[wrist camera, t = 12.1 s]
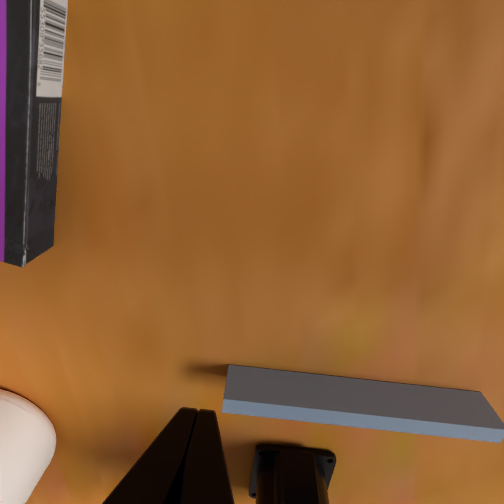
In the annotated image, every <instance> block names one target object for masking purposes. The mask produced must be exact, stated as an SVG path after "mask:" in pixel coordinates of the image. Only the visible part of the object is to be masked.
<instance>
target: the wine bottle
mask: <svg viewBox="0 0 504 504" xmlns="http://www.w3.org/2000/svg"><path fill="white" fill-rule="evenodd" d="M55 448H56V433H55V430H54V427H53V425H52V423H51V421H50V420H49V418H48V417H47V416H46V415H45V413H44V412H43V411H42V410H41V409H39V408H38V407H37V406H36V405H35V404H33V403H32V402H30V401H29V400H27V399H25V398H23V397H21V396H19V395H17V394H14V393H12V392H9V391H5V390H2V389H0V504H25V503H26V501H27V500H28V498H29V496H30V495H31V493H32V492H33V490H34V488H35V487H36V485H37V483H38V482H39V480H40V478H41V477H42V475H43V473H44V472H45V470H46V468H47V467H48V465H49V463H50V462H51V460H52V457H53V454H54V452H55Z"/></svg>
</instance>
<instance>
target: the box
mask: <svg viewBox="0 0 504 504" xmlns="http://www.w3.org/2000/svg"><path fill="white" fill-rule="evenodd" d="M67 5H68V0H0V261H2V262H5V263H9V264H12V265H16V266H19V267H24V266H25V265H26V264H27V263H29V262H30V261H31V260H33V259H34V258H36V257H37V256H39V255H40V254H42V253H44V252H45V251H47V250H48V249H49V248H51V247H52V246H53V242H54V221H55V203H56V185H57V168H58V152H59V134H60V117H61V98H62V83H63V67H64V52H65V37H66V21H67Z"/></svg>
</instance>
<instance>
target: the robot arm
mask: <svg viewBox="0 0 504 504" xmlns="http://www.w3.org/2000/svg"><path fill="white" fill-rule="evenodd" d="M335 464H336V456H335V454H334V453H332V452H326V451H317V450H308V449H299V448H289V447H280V446H271V445H257V446H256V448H255V454H254V460H253V467H252V473H251V480H250V486H249V496H250V497H252V498H256V504H329V499H328V492H327V490H328V486H329V483H330V480H331V477H332V474H333V470H334V467H335ZM102 504H234V499H233V494H232V489H231V484H230V480H229V475H228V470H227V465H226V460H225V455H224V451H223V446H222V441H221V436H220V431H219V426H218V421H217V417H216V413H215V411H214V410H206V409H200V410H199V411H198V410H197V409H195V408H187V407H182V408H181V409H179V411H178V412H177V413H176V414H175V415H174V417H173V418H172V419H171V420H170V421H169V423H168V424H167V425H166V426H165V428H164V429H163V430H162V431H161V432H160V434H159V435H158V436H157V437H156V439H155V440H154V441H153V442H152V443H151V445H150V446H149V447H148V448H147V449H146V451H145V452H144V453H143V454H142V456H141V457H140V458H139V459H138V460H137V462H136V463H135V464H134V465H133V467H132V468H131V469H130V470H129V471H128V473H127V474H126V475H125V476H124V478H123V479H122V480H121V481H120V482H119V484H118V485H117V486H116V487H115V489H114V490H113V491H112V492H111V493H110V495H109V496H108V497H107V498H106V499H105V501H104V502H103V503H102Z"/></svg>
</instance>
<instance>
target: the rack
mask: <svg viewBox="0 0 504 504" xmlns="http://www.w3.org/2000/svg"><path fill="white" fill-rule="evenodd" d="M222 412H223V413H232V414H241V415H250V416H260V417H269V418H278V419H287V420H296V421H305V422H314V423H323V424H333V425H342V426H351V427H360V428H369V429H378V430H387V431H397V432H406V433H415V434H424V435H433V436H442V437H451V438H461V439H470V440H479V441H488V442H497V443H501V441H502V440H503V438H504V423H503V422H502V421H501V419H500V418H499V416H498V415H497V414H496V412H495V411H494V410H493V408H492V407H491V405H490V404H489V403H488V401H487V400H486V398H485V397H484V396H483V394H482V393H481V392H475V391H466V390H457V389H448V388H438V387H429V386H420V385H411V384H402V383H393V382H383V381H374V380H365V379H356V378H347V377H338V376H328V375H319V374H310V373H301V372H292V371H282V370H273V369H264V368H255V367H246V366H237V365H229V366H228V372H227V379H226V385H225V392H224V398H223V410H222Z"/></svg>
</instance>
